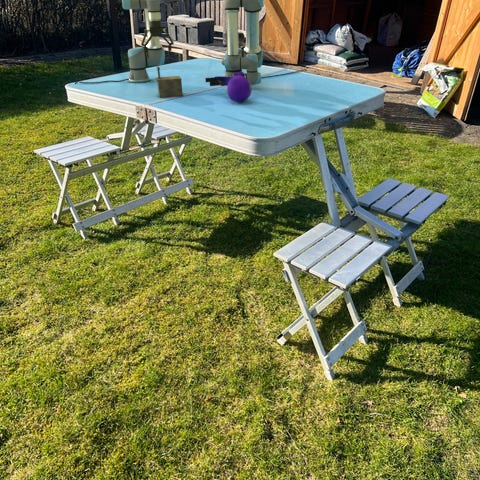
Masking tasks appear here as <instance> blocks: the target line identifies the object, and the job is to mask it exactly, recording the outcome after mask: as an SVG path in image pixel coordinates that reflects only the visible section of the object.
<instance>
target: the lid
mask: <svg viewBox="0 0 480 480" xmlns="http://www.w3.org/2000/svg"><path fill="white" fill-rule="evenodd" d="M156 69H157V77H154V79H155V81H156V83H157V82H162V81H175V80H181V81H182V77H181V76H180V75H172V76H170V75H169V76H161V72H160V70H161V67H160V65H156Z"/></svg>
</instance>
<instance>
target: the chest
mask: <svg viewBox="0 0 480 480" xmlns="http://www.w3.org/2000/svg"><path fill="white" fill-rule="evenodd" d="M182 82H183V81H182V79H181V80H175V81H162V82H157V81H156V86H157V95H158V97H159V99H164V98H175V97H176V98H177V97H184V96H183V95H184V94H183V83H182Z"/></svg>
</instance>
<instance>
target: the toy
mask: <svg viewBox="0 0 480 480" xmlns="http://www.w3.org/2000/svg"><path fill="white" fill-rule="evenodd" d="M244 73H245V72H243V71H242V72H238V73H235V74H234V77H225V75H223V76H219V75H218V76H217V75H216V76H214V77H215V78H216V79H218V80H220V81H222V82H224V83H226V84H227V85H226V91H227V96H228V98H229V99H230V100H231V101H232V102H235V103H245V102H246V101H247V100H248V99H250V97H251V95H252V85H251V84H250V82H249V80H248V79H247V78H245V74H244Z"/></svg>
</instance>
